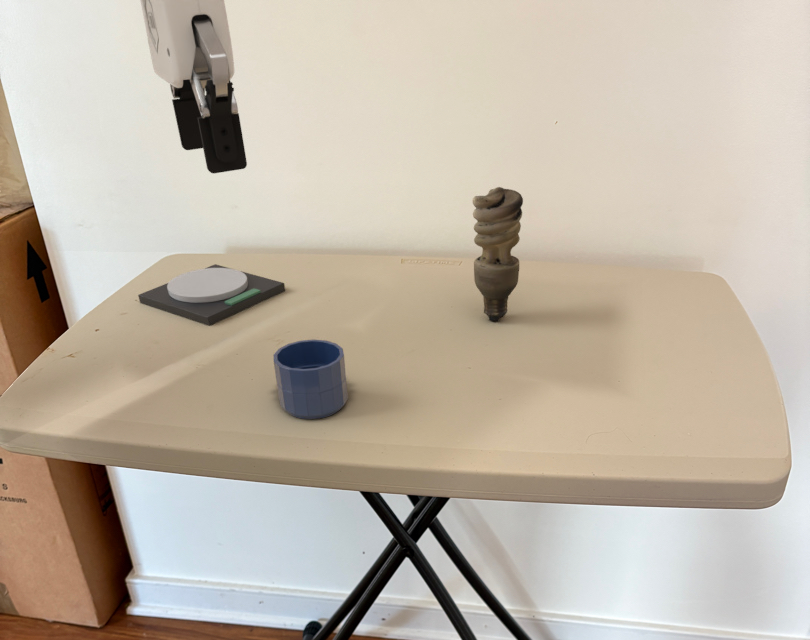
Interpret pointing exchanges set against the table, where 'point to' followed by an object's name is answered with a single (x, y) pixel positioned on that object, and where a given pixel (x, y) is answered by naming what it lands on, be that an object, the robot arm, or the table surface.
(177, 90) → the robot arm
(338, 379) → the cup
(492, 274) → the light bulb
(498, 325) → the table surface
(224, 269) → the scale
